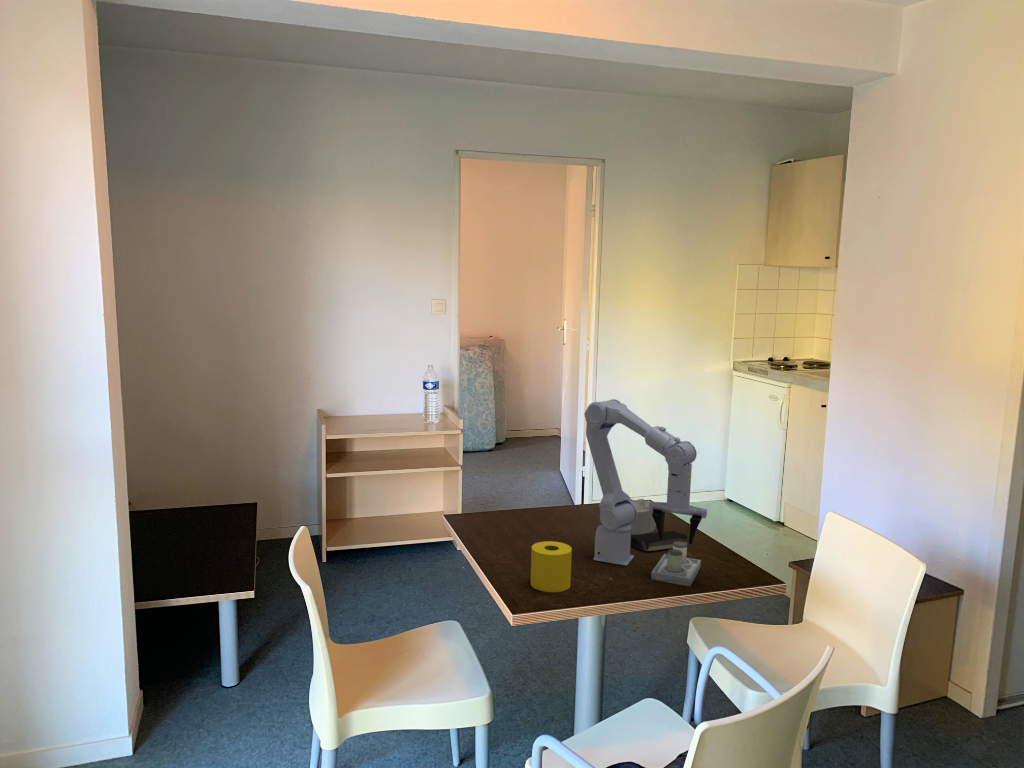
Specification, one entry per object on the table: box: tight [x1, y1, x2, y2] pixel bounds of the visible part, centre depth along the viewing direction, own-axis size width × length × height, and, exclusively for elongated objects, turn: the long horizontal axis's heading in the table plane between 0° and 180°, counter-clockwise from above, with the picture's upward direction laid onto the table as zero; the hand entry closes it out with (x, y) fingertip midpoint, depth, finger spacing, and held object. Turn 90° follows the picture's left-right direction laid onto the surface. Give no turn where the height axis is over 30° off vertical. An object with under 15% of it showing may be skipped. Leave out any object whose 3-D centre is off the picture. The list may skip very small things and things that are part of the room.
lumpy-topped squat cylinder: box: [630, 498, 657, 535], centre depth 235 cm, size 10×13×9 cm
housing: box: [650, 553, 702, 587], centre depth 198 cm, size 10×15×2 cm, turn 156°
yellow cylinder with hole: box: [529, 540, 573, 593], centre depth 188 cm, size 10×10×9 cm
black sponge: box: [630, 530, 689, 552], centre depth 219 cm, size 16×8×4 cm, turn 114°
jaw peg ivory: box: [672, 542, 688, 565], centre depth 201 cm, size 4×4×6 cm
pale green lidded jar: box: [667, 548, 683, 573], centre depth 194 cm, size 4×4×6 cm
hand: (675, 540), depth 194 cm, fingers open, 7 cm apart
